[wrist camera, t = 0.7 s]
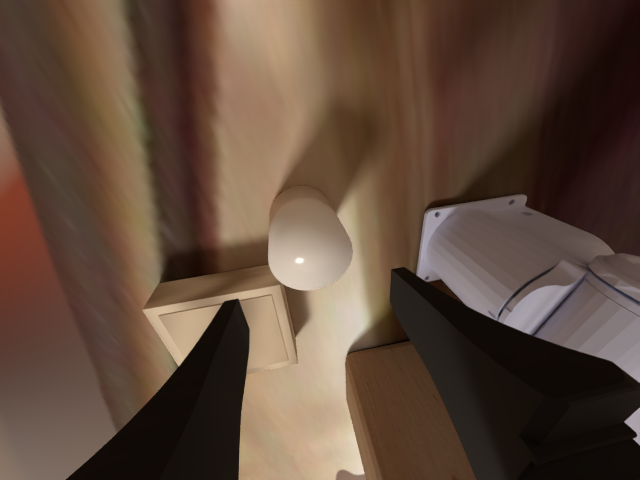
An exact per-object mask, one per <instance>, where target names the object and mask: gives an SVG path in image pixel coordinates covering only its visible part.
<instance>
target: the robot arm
mask: <svg viewBox="0 0 640 480" xmlns="http://www.w3.org/2000/svg"><path fill="white" fill-rule="evenodd" d="M526 201H527V196H526V195H523V194H518V195H512V196H505V197H499V198H493V199H487V200H481V201H474V202H468V203H462V204H456V205H450V206H443V207H437V208H431V209H428V210H427V211H426V212H425V215H424V222H423V229H422V236H421V244H420V251H419V258H418V266H417V273H416V275H415V274H414V273H412V272H411V271H409V270H408V269H406V268H404V267H401V268H396V269H391V287H390V303H391V305H392V308H393V310H394V312H395V314H396V317H397V319H398V321H399V322H400V324H401V326H402V328H403V329H404V331H405V333H406V334H407V336H408V338H409V339H410V341H411V343H412V344H413V346H414V348H415V349H416V351H417V353H418V354H419V356H420V358H421V359H422V361H423V363H424V364H425V366H426V368H427V370H428V372H429V374H430V376H431V378H432V380H433V382H434V384H435V386H436V388H437V390H438V392H439V394H440V396H441V399H442V401H443V403H444V405H445V407H446V410H447V412H448V414H449V416H450V418H451V421H452V423H453V425H454V428H455V430H456V432H457V434H458V437H459V439H460V441H461V444H462V446H463V448H464V451H465V453H466V456H467V458H468V461H469V463H470V466H471V468H472V471H473V473H474V476H475V478H476V480H640V257H638V256H634V255H629V254H614V252H613V251H612V250H611V249H610V247H609V246H608V245H607V244H605V243H604V242H603V241H602V240H600V239H599V238H598V237H596V236H594V235H592V234H590V233H588V232H585V231H583V230H581V229H578V228H576V227H573V226H571V225H569V224H566V223H564V222H561V221H559V220H557V219H554V218H552V217H550V216H547V215H545V214H542V213H540V212H538V211H535V210H533V209H530V208H528V207H526V206H525V204H526ZM436 212H438V213H437V215H435V213H436ZM425 277H426V278H425ZM439 279H442V280H443V282H444V283H445V284H446V285H447V286H448V287H449V288H450V289H451V290H452V291H453V292H454V293H455V294H456V295H457V296H458V297H459V298H460V300H461V301H462V302H463V303H464V304H465V305H464V304H462V303H461V302H459V301H457V300H455V299H453V298H452V297H450V296H448V295H447V294H445V293H443V292H442V291H440V290H438V289H437V288H435V287H434V286H432V285H431V284H429V283H427V282H428V281H434V280H439ZM249 345H250V329H249V326H248V323H247V321H246V318H245V315H244V312H243V310H242V307H241V304H240V302H239V299H232V300H227V301H224V302H223V304H222V305H221V307H220V308H219V310H218V312H217V313H216V315H215V316H214V318H213V319H212V321H211V322H210V324H209V325H208V327H207V328H206V330H205V331H204V333H203V334H202V336H201V337H200V339H199V340H198V342H197V343H196V344H195V346H194V347H193V349H192V350H191V351H190V353H189V354H188V355H187V357H186V358H185V359H184V361H183V362H182V363H181V364H180V366H179V367H178V368H177V370H176V371H175V372H174V373H173V374H172V376H171V377H170V378H169V379H168V380H167V382H166V383H165V384H164V385H163V386H162V387H161V389H160V390H159V391H158V392H157V393H156V394H155V395H154V396H153V397H152V398H151V399H150V400H149V402H148V403H147V404H146V405H145V406H144V407H143V408H142V409H141V410H140V411H139V412H138V413H137V414H136V415H135V416H134V417H133V418H132V419H131V420H130V421H129V422H128V423H127V424H126V425H125V426H124V427H123V428H122V429H121V430H120V431H119V432H118V433H117V434H116V435H115V436H114V437H113V438H112V439H111V440H110V441H109V442H107V444H105V445H104V446H103V447H102V448H101V449H100V450H99V451H98V452H97V453H96V454H95V455H93V456H92V457H91V458H90V459H89V460H88V461H87V462H86V463H84V464H83V465H82V466H81V467H80V468H79V469H78V470H76V471H75V472H74V473H73V474H72V475H71V476H69V477H68V478H67V479H66V480H238V475H239V443H240V423H241V409H242V401H243V394H244V386H245V379H246V372H247V365H248V358H249Z"/></svg>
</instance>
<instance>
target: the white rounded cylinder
mask: <svg viewBox="0 0 640 480" xmlns="http://www.w3.org/2000/svg"><path fill="white" fill-rule="evenodd" d="M352 252H353V250H352V244H351V241H350V238H349V236H348V235H347V233H346V231H345V229H344V227H343V226H342V224H341V222H340V220H339V218H338V217H337V215H336V213H335V211H334V210H333V208H332V206H331V204H330V202H329V201H328V199H327V198H326V196H325V195H324V194H323V193H322V192H320V191H319V190H317V189H315V188H312V187H309V186H295V187H291V188H288V189H286V190H284V191H283V192H281V193H280V194H279V195H278V196H277V197H276V198H275V200H274V201H273V203H272V205H271V208H270V213H269V244H268V262H269V267H270V270H271V271H272V273H273V275H274V276H275V277H276V279H277V280H278V281H280V282H281V283H282V284H284V285H286V286H288V287H290V288H293V289H297V290H316V289H320V288H323V287H326V286H328V285H330V284H332V283H334V282H335V281H337V280H338V279H339V278H340V277H341V276H342V275H343V274H344V273H345V272H346V270H347V269H348V267H349V265H350V262H351V259H352Z"/></svg>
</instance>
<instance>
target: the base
mask: <svg viewBox="0 0 640 480" xmlns="http://www.w3.org/2000/svg"><path fill="white" fill-rule="evenodd" d="M232 299H239V302H240V304H241V307H242V310H243V312H244V315H245V318H246V321H247V323H248V326H249V329H250V345H249V358H248V365H247V372H246V374H251V373H256V372H260V371H265V370H270V369H274V368H279V367H284V366H288V365H293V364H298V359H297V349H296V338H295V333H294V329H293V324H292V320H291V315H290V311H289V306H288V302H287V297H286V292H285V288H284V284H282V283H281V282H280V281H278V280H277V279H276V277H275V276H274V275H273V273H272V271H271V270H270V267H269V264H268V265H262V266H257V267H251V268H245V269H239V270H234V271H228V272H222V273H216V274H210V275H205V276H199V277H193V278H187V279H181V280H176V281H170V282H164V283H159V284H158V286H157V287H156V289H155V290H154V292H153V294H152V295H151V297H150V298H149V300H148V302H147V303H146V305H145V306H144V308H143V312H144V313H145V315H146V316H147V318H148V319H149V321H150V322H151V324H152V326H153V327H154V329H155V330H156V332H157V333H158V335H159V336H160V338H161V339H162V341H163V343H164V344H165V346H166V347H167V349H168V350H169V352H170V353H171V355H172V356H173V358H174V360H175V361H176V363H177V364H178V366H180V364H181V363H182V362H183V361H184V359H185V358H186V357H187V355H188V354H189V353H190V351H191V350H192V349H193V347H194V346H195V344H196V343H197V342H198V340H199V339H200V337H201V336H202V334H203V333H204V331H205V330H206V328H207V327H208V325H209V324H210V322H211V321H212V319H213V318H214V316H215V315H216V313H217V312H218V310H219V308H220V307H221V305H222V304H223V302H224V301H227V300H232Z"/></svg>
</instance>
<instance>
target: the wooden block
mask: <svg viewBox="0 0 640 480" xmlns="http://www.w3.org/2000/svg"><path fill="white" fill-rule="evenodd" d="M345 368H346V396H347V403H348V407H349V411H350V415H351V420H352V424H353V428H354V432H355V436H356V440H357V444H358V448H359V452H360V456H361V460H362V464H363V468H364V472H365V476H366V480H476V478H475V476H474V473H473V471H472V468H471V466H470V463H469V461H468V458H467V456H466V453H465V451H464V448H463V446H462V444H461V441H460V439H459V437H458V434H457V432H456V430H455V428H454V425H453V423H452V421H451V418H450V416H449V414H448V412H447V410H446V407H445V405H444V403H443V401H442V399H441V396H440V394H439V392H438V390H437V388H436V386H435V384H434V382H433V380H432V378H431V376H430V374H429V372H428V370H427V368H426V366H425V364H424V363H423V361H422V359H421V358H420V356H419V354H418V353H417V351H416V349H415V348H414V346H413V344H412V343H411V341H407V342H402V343H397V344H392V345H387V346H382V347H377V348H372V349H367V350H362V351H357V352H352V353H350V354H349V355H347V357H346V362H345Z"/></svg>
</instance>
